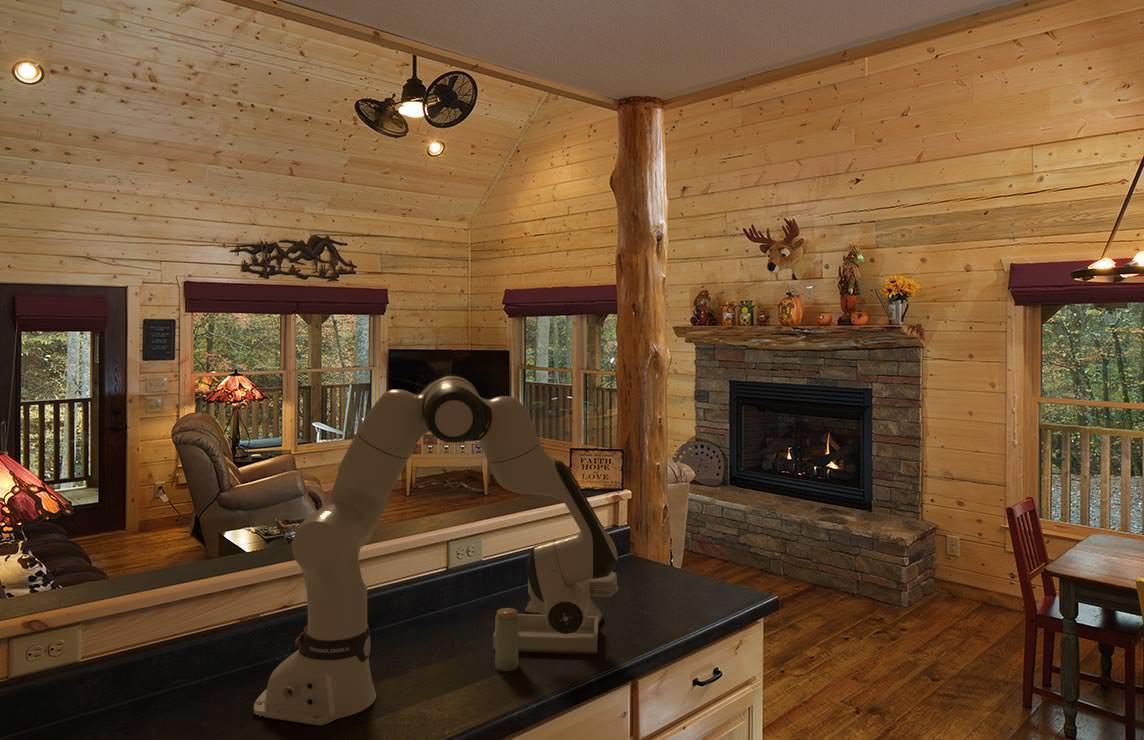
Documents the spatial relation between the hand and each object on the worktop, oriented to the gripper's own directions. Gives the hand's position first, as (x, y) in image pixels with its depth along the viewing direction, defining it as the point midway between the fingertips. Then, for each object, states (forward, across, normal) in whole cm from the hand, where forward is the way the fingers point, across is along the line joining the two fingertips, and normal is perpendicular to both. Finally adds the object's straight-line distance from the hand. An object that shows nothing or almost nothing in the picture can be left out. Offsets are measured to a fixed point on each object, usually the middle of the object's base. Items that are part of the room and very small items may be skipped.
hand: (573, 571), depth 177 cm
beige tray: (-1, +6, +16) cm, 17 cm away
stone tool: (+17, +2, +17) cm, 24 cm away
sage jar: (-15, +14, +16) cm, 26 cm away
